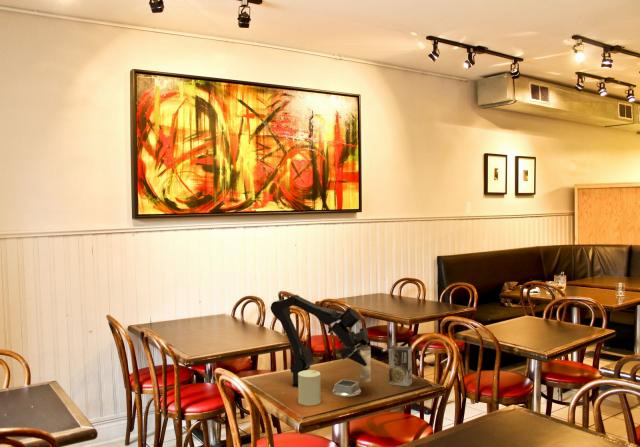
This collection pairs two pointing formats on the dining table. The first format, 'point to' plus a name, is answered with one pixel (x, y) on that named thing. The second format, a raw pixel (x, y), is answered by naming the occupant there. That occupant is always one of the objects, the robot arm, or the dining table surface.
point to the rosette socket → (346, 388)
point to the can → (309, 387)
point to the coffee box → (400, 365)
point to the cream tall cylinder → (366, 370)
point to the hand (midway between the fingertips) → (368, 364)
